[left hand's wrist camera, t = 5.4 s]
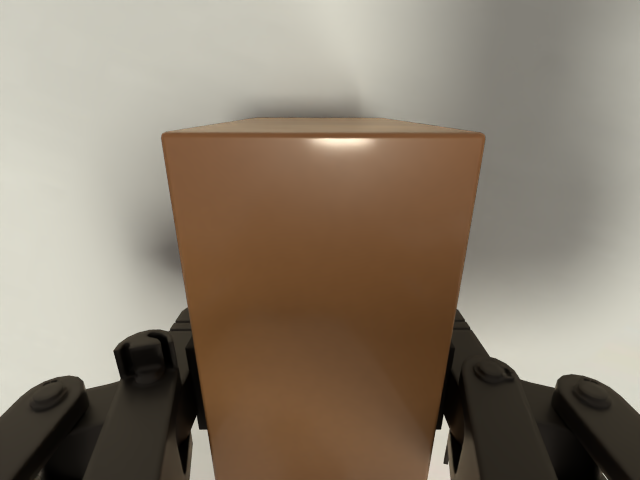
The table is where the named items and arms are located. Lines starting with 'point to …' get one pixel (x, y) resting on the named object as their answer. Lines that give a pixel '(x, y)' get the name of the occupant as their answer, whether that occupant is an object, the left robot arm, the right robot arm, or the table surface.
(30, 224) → the table surface
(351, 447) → the post
